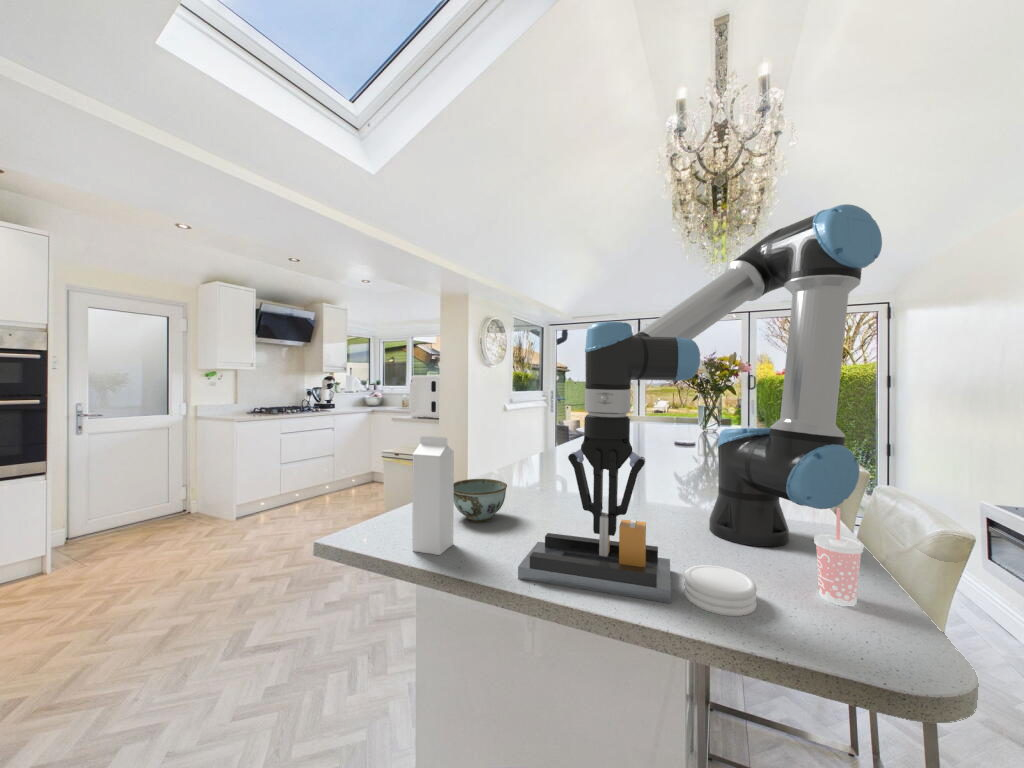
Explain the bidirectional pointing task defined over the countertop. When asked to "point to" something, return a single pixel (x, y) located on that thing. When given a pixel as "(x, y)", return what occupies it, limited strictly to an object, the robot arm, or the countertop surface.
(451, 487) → the milk
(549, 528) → the countertop surface
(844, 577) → the beverage cup
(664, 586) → the panel
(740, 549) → the countertop surface
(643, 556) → the lever
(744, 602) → the coaster
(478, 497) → the bowl
